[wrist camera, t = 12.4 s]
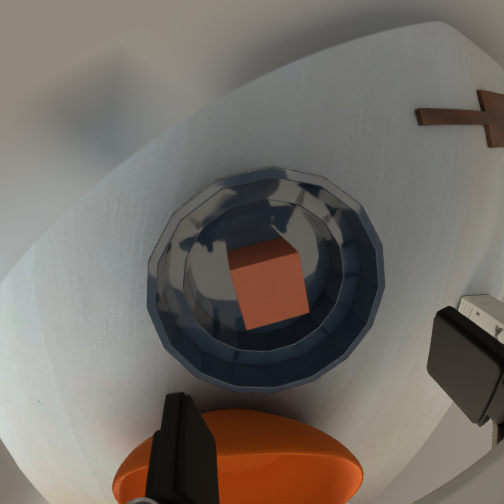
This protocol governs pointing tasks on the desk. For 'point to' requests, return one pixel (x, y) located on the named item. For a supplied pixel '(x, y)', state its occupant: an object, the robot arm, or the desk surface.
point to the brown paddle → (472, 117)
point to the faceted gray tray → (223, 292)
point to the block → (268, 282)
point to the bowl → (262, 462)
